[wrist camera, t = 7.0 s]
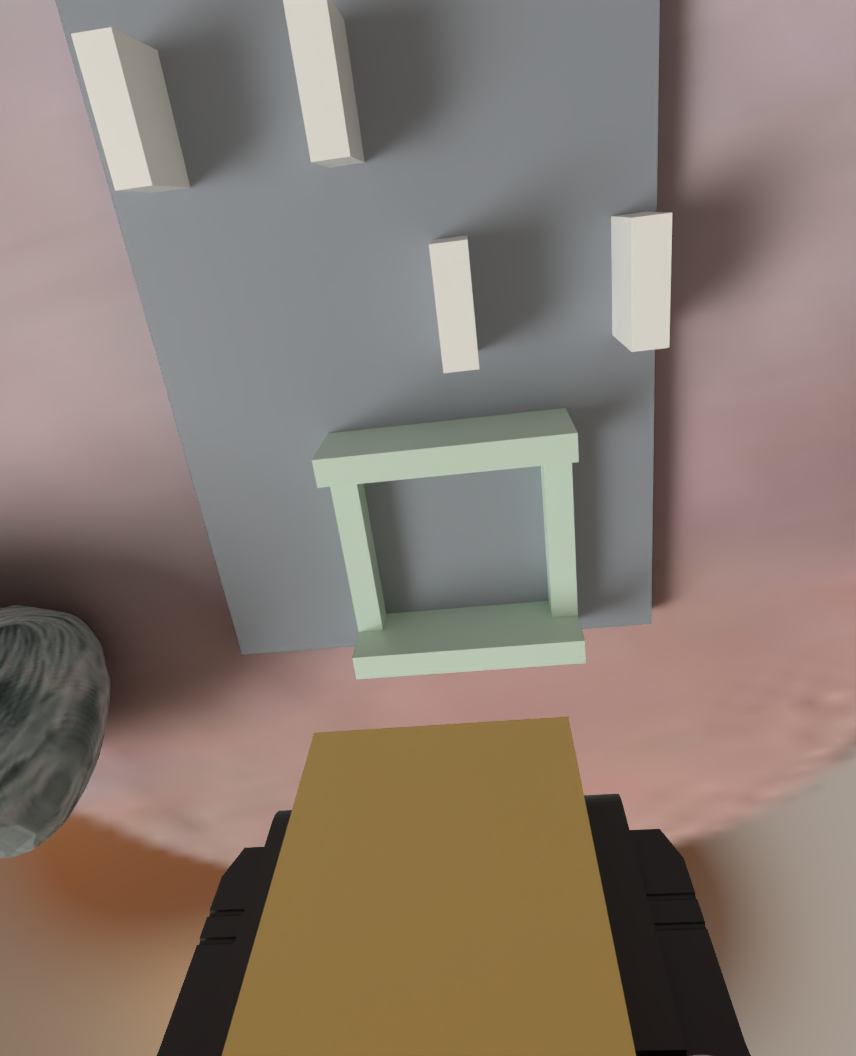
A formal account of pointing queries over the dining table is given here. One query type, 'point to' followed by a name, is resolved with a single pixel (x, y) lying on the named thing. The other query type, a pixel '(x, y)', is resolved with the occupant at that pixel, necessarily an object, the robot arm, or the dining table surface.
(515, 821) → the yellow drawer
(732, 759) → the dining table surface
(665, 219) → the white blocks
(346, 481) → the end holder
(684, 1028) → the robot arm
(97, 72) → the white blocks
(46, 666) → the spool
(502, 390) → the board
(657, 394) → the dining table surface
